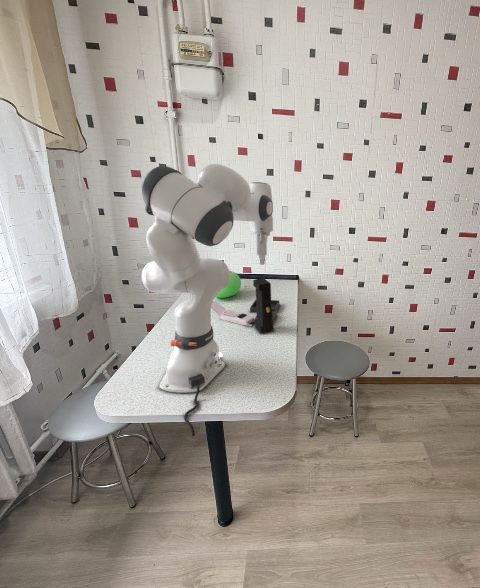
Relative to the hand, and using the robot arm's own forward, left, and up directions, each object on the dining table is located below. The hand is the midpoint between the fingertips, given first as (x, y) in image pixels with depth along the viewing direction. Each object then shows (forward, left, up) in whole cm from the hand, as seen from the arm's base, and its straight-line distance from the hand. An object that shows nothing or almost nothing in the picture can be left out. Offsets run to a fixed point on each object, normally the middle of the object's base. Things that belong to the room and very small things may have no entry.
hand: (262, 260), depth 132 cm
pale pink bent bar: (+8, +17, -32) cm, 37 cm away
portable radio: (0, 0, -32) cm, 32 cm away
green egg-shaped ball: (+35, +30, -32) cm, 56 cm away
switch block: (+10, +2, -31) cm, 33 cm away
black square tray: (+22, +5, -31) cm, 39 cm away
